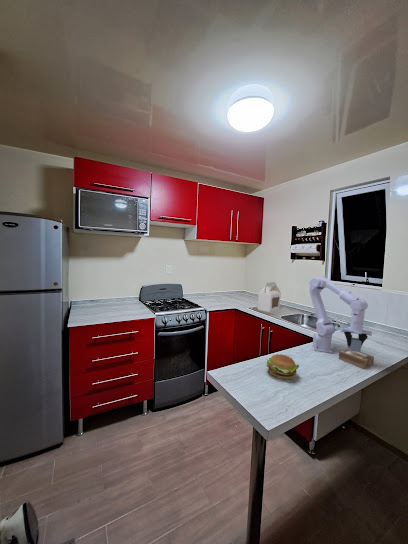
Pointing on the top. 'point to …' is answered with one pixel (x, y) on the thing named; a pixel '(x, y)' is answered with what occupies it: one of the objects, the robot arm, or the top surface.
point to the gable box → (269, 298)
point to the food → (282, 366)
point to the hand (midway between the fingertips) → (353, 346)
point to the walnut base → (356, 358)
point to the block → (355, 345)
